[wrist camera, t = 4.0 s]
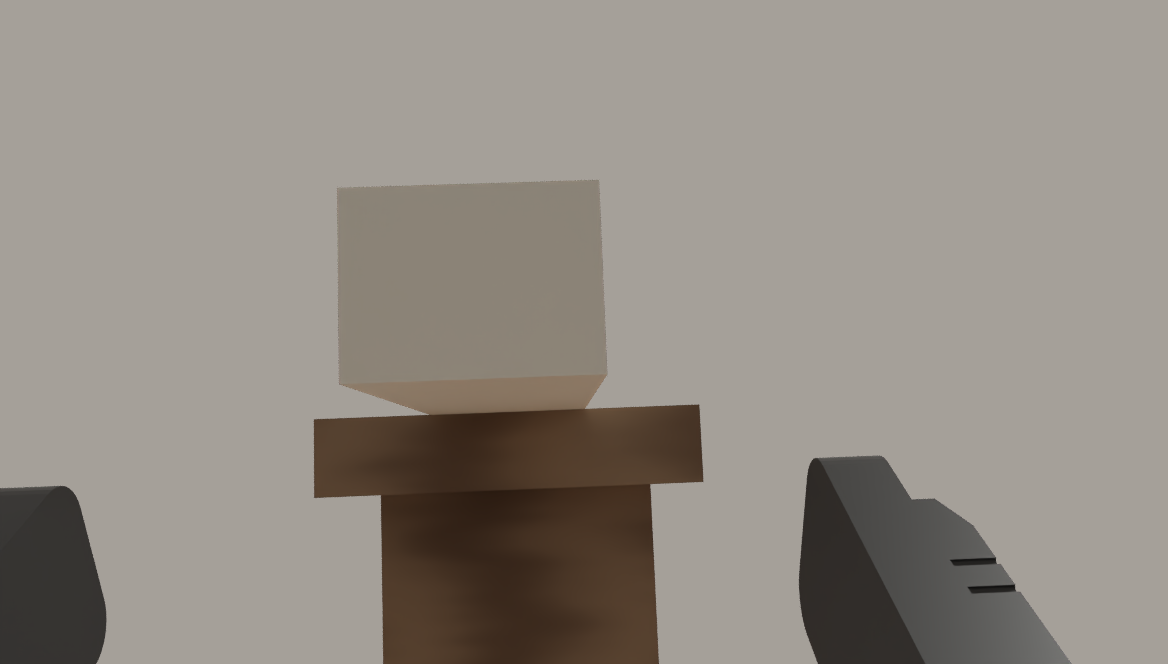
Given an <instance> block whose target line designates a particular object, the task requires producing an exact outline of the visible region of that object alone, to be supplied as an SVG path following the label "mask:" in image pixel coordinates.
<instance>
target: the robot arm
mask: <svg viewBox="0 0 1168 664" xmlns="http://www.w3.org/2000/svg"><path fill="white" fill-rule="evenodd" d="M799 572H800V573H799V592H800V604H801V610H802V617H803V622H804V626H805V629H806V633H807V636H808V638H809V641H810V643H811V646H812V649H813V651H814V654H815V657H816V660H817V662H818V664H1071V663H1070V661H1069V660H1068V658H1067V657H1066V656H1065V654H1064V653H1063V651H1062V650H1061V649H1060V647H1059V646H1058V644H1057V643H1056V641H1055V640H1054V639H1053V637H1052V636H1051V634H1050V633H1049V632H1048V630H1047V629H1046V628H1045V626H1044V625H1043V623H1042V622H1041V620H1040V619H1039V618H1038V616H1037V615H1036V613H1035V612H1034V610H1033V609H1032V608H1031V607H1030V605H1029V603H1028V602H1027V601H1026V599H1025V598H1024V596H1023V595H1022V594H1021V592H1016V590H1015V584H1014V582H1013V581H1012V580H1011V578H1010V577H1009V576H1008V574H1007V573H1006V571H1005V570H1004V568H1003V567H1002V565H1001V564H997V563H996V557H995V556H994V554H993V553H992V551H991V550H990V549H989V547H988V546H987V545H986V543H985V542H984V540H983V539H982V537H981V536H980V535H979V533H978V532H977V530H976V529H975V528H974V526H973V525H971V524H970V523H969V522H967V521H966V520H965V519H963V518H962V517H960V516H959V515H957V514H956V513H954V512H953V511H952V510H950V509H948V508H947V507H945V506H944V505H943V504H941V503H940V502H939V501H937V500H935V499H916V500H912V499H911V498H910V496H909V495H908V493H907V492H906V490H905V489H904V487H903V485H902V484H901V482H900V481H899V479H898V478H897V476H896V474H895V473H894V471H893V470H892V468H891V467H890V465H889V463H888V462H887V461H886V460H885V458H884V457H882V456H857V457H834V458H815V459H813V460H812V462H811V463H810V466H809V469H808V475H807V485H806V497H805V509H804V522H803V535H802V546H801V559H800V571H799ZM105 632H106V607H105V601H104V597H103V594H102V590H101V586H100V582H99V578H98V574H97V570H96V566H95V562H94V558H93V554H92V551H91V547H90V543H89V539H88V535H87V532H86V528H85V523H84V520H83V516H82V512H81V508H80V505H79V502H78V500H77V498H76V496H75V494H74V493H73V492H72V491H71V490H70V489H69V488H67V487H65V486H50V487H25V488H0V664H96V663H97V661H98V659H99V657H100V654H101V651H102V647H103V644H104V639H105Z"/></svg>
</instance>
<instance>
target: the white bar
mask: <svg viewBox="0 0 1168 664" xmlns="http://www.w3.org/2000/svg"><path fill="white" fill-rule="evenodd" d="M337 213H338V214H337V221H338V222H337V224H338V328H339V329H338V331H339V332H338V333H339V384H340V385H343V386H346V387H349V388H352V389H355V390H358V391H361V392H364V393H367V394H370V395H373V396H376V397H379V398H382V399H385V400H388V401H391V402H393V403H396V404H399V405H402V406H405V407H408V408H411V409H414V410H417V411H420V412H423V413H426V414H429V415H442V414H468V413H494V412H520V411H546V410H572V409H585V408H586V406H587V405H588V403H589V402H590V400H591V399H592V397H593V396H594V394H595V392H596V391H597V389H598V388H599V386H600V385H601V383H602V382H603V380H604V379H605V377H606V376H607V353H606V330H605V307H604V286H603V285H604V284H603V260H602V238H601V217H600V216H601V214H600V191H599V180H580V181H579V180H578V181H548V182H547V181H546V182H515V183H514V182H513V183H480V184H447V185H414V186H385V187H384V186H381V187H353V188H352V187H349V188H337Z"/></svg>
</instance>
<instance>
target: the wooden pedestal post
mask: <svg viewBox="0 0 1168 664" xmlns="http://www.w3.org/2000/svg"><path fill="white" fill-rule="evenodd" d="M686 482H703V465H702V447H701V428H700V410H699V405H676V406H652V407H651V406H650V407H624V408H598V409H572V410H546V411H520V412H494V413H468V414H442V415H417V416H392V417H391V416H390V417H364V418H338V419H315V420H314V498H323V497H346V496H370V495H381V527H382V528H381V530H382V596H383V597H382V602H383V664H659V659H658V658H659V657H658V637H657V616H656V594H655V573H654V552H653V531H652V510H651V491H650V490H651V489H650V484H661V483H686Z"/></svg>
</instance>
